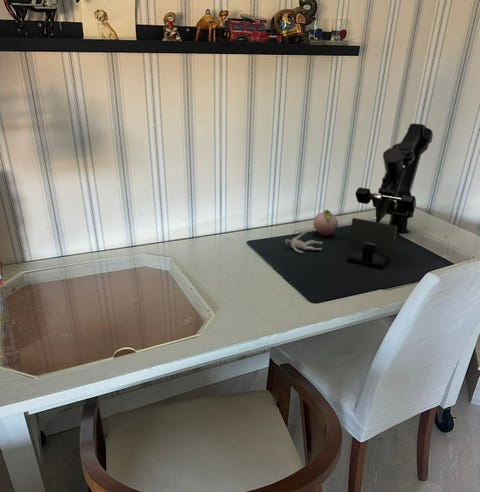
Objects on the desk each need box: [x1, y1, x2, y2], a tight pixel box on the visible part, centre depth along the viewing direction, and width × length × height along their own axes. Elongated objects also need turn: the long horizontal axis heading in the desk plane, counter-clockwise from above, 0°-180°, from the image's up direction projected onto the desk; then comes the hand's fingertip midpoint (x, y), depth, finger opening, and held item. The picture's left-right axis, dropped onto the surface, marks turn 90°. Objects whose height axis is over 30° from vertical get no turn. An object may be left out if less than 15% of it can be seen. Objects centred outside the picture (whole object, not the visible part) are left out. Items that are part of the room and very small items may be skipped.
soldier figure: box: [284, 231, 323, 254], centre depth 165 cm, size 8×5×12 cm
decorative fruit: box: [313, 209, 339, 237], centre depth 176 cm, size 9×8×10 cm
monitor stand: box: [346, 245, 390, 270], centre depth 157 cm, size 8×11×5 cm
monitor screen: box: [348, 217, 397, 258], centre depth 155 cm, size 2×14×10 cm, turn 59°
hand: (377, 221), depth 156 cm, fingers closed
